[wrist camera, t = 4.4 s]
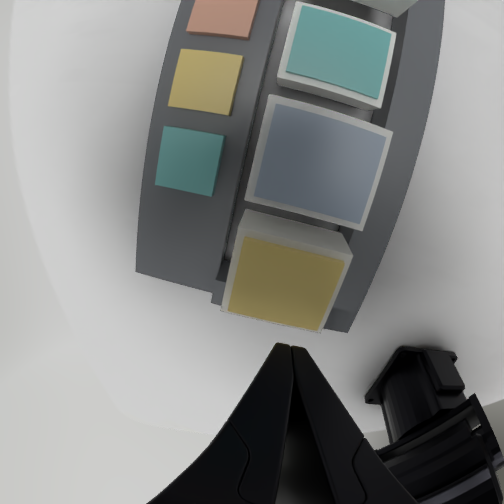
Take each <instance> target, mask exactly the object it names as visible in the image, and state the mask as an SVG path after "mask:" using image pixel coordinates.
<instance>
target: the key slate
mask: <svg viewBox="0 0 504 504" xmlns="http://www.w3.org/2000/svg"><path fill="white" fill-rule="evenodd" d="M392 135H393V132H392V131H390V130H387V129H385V128H382V127H379V126H377V125H374V124H371V123H369V122H366V121H363V120H360V119H357V118H354V117H351V116H348V115H345V114H342V113H339V112H336V111H333V110H329V109H326V108H323V107H319V106H316V105H312V104H309V103H305V102H301V101H297V100H293V99H289V98H285V97H281V96H277V95H272V94H269V96H268V100H267V104H266V108H265V112H264V117H263V121H262V125H261V129H260V133H259V138H258V142H257V146H256V150H255V155H254V159H253V163H252V168H251V172H250V176H249V181H248V185H247V190H246V194H245V198H244V200H245V201H249V202H253V203H257V204H262V205H266V206H270V207H274V208H278V209H282V210H286V211H290V212H293V213H297V214H301V215H305V216H309V217H312V218H316V219H320V220H324V221H327V222H331V223H335V224H338V225H342V226H345V227H349V228H352V229H356V230H359V231H363V228H364V225H365V222H366V220H367V217H368V214H369V211H370V208H371V205H372V202H373V199H374V196H375V193H376V190H377V186H378V183H379V180H380V177H381V173H382V170H383V167H384V163H385V160H386V156H387V153H388V149H389V146H390V142H391V138H392Z"/></svg>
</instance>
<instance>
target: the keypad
mask: <svg viewBox="0 0 504 504" xmlns="http://www.w3.org/2000/svg"><path fill="white" fill-rule="evenodd" d="M283 3H284V0H181V3H180V6H179V9H178V12H177V16H176V19H175V22H174V25H173V29H172V32H171V36H170V39H169V43H168V47H167V51H166V54H165V58H164V62H163V67H162V71H161V75H160V79H159V84H158V88H157V93H156V98H155V103H154V108H153V113H152V119H151V124H150V130H149V136H148V143H147V149H146V156H145V163H144V171H143V179H142V188H141V197H140V208H139V220H138V233H137V250H136V272H138V273H141V274H145V275H148V276H152V277H155V278H159V279H163V280H166V281H170V282H173V283H177V284H181V285H185V286H188V287H192V288H196V289H200V290H204V291H207V292H211V293H213V294H212V300H211V303H214V304H218V305H222V300H223V295H224V291H225V286H226V281H227V276H228V272H229V267H230V262H231V261H228V260H224V255H225V250H226V245H227V240H228V235H229V231H230V226H231V221H232V216H233V212H234V207H235V202H236V198H237V193H238V188H239V184H240V179H241V175H242V170H243V166H244V161H245V157H246V152H247V148H248V144H249V139H250V135H251V131H252V126H253V122H254V118H255V114H256V109H257V105H258V101H259V97H260V93H261V89H262V85H263V81H264V77H265V73H266V69H267V65H268V61H269V57H270V53H271V49H272V45H273V41H274V37H275V33H276V30H277V26H278V22H279V18H280V14H281V11H282V7H283ZM444 6H445V0H418V1H417V2H416V3H414V4H413V5H412V6H411V7H409V8H408V9H407V10H406V11H405V12H403V13H402V14H401V15H400V16H399V17H397V18H396V17H394V16H393V21H392V27H391V31H393V32H395V33H396V39H395V44H394V50H393V55H392V60H391V65H390V70H389V75H388V80H387V84H386V89H385V93H384V97H383V102H382V106H381V109H374V112H373V116H372V120H371V124H374V125H377V126H379V127H382V128H385V129H387V130H390V131H392V132H393V135H392V138H391V142H390V146H389V149H388V153H387V156H386V160H385V163H384V167H383V170H382V173H381V177H380V180H379V183H378V186H377V190H376V193H375V196H374V199H373V202H372V205H371V208H370V211H369V214H368V217H367V220H366V222H365V225H364V228H363V231H359V230H356V229H352V228H349V227H345V226H342V225H340V228H339V231H338V232H339V233H342V235H343V236H344V238H345V240H346V242H347V244H348V246H349V248H350V250H351V252H352V254H353V258H352V260H351V263H350V265H349V268H348V271H347V273H346V276H345V278H344V280H343V283H342V285H341V288H340V290H339V293H338V295H337V297H336V300H335V302H334V304H333V307H332V309H331V311H330V314H329V316H328V318H327V320H326V323H325V325H324V327H323V328H324V329H329V330H335V331H340V332H345V333H348V331H349V329H350V327H351V325H352V323H353V321H354V319H355V317H356V315H357V313H358V311H359V309H360V307H361V304H362V302H363V300H364V298H365V296H366V294H367V292H368V289H369V287H370V285H371V283H372V280H373V278H374V276H375V273H376V271H377V269H378V266H379V264H380V262H381V259H382V257H383V254H384V252H385V249H386V247H387V244H388V242H389V239H390V237H391V234H392V231H393V229H394V226H395V223H396V221H397V218H398V215H399V212H400V210H401V207H402V204H403V201H404V198H405V195H406V192H407V189H408V186H409V183H410V179H411V176H412V173H413V170H414V166H415V163H416V159H417V156H418V152H419V149H420V145H421V141H422V138H423V134H424V130H425V126H426V122H427V117H428V113H429V108H430V104H431V99H432V94H433V89H434V84H435V79H436V73H437V67H438V61H439V54H440V46H441V38H442V29H443V19H444Z"/></svg>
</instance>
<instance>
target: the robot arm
mask: <svg viewBox="0 0 504 504" xmlns="http://www.w3.org/2000/svg"><path fill="white" fill-rule="evenodd" d="M456 360H457V356H456V354H455V353H451V352H445V351H436V350H428V349H418V348H411V347H401V348H399V349H398V350H397V351H396V353H395V354H394V356H393V357H392V359H391V360H390V362H389V363H388V365H387V366H386V368H385V369H384V371H383V372H382V374H381V375H380V377H379V378H378V379H377V381H376V382H375V384H374V385H373V386H372V388H371V389H370V391H369V392H368V393H367V395H366V396H365V403H367V404H380V405H381V408H382V412H383V416H384V420H385V424H386V429H387V433H388V436H389V442H390V445H387V446H385V447H383V448H381V449H379V450H374V449H373V448H372V447H371V445H370V444H369V442H368V441H367V439H366V438H364V435H363V433H362V432H361V430H360V429H359V428H358V426H357V425H356V423H355V422H354V420H353V419H352V417H351V416H350V414H349V413H348V411H347V410H346V408H345V407H344V405H343V404H342V402H341V401H340V399H339V398H338V396H337V395H336V393H335V392H334V390H333V389H332V387H331V386H330V384H329V383H328V381H327V380H326V378H325V377H324V375H323V374H322V372H321V371H320V369H319V368H318V366H317V365H316V363H315V362H314V360H313V359H312V357H311V356H310V354H309V353H308V351H307V350H306V349H305V348H303V347H298V346H291V347H290V345H288V344H283V343H279V342H277V343H276V344H275V345H274V347H273V349H272V350H271V352H270V354H269V355H268V357H267V358H266V360H265V362H264V363H263V365H262V367H261V368H260V370H259V372H258V373H257V375H256V376H255V378H254V380H253V381H252V383H251V384H250V386H249V387H248V389H247V391H246V392H245V394H244V395H243V397H242V398H241V400H240V401H239V403H238V405H237V406H236V408H235V409H234V411H233V412H232V414H231V415H230V417H229V418H228V420H227V421H226V422H225V424H224V425H223V427H222V428H221V430H220V431H219V433H218V434H217V435H216V437H215V438H214V439H213V440H212V442H211V443H210V445H209V446H208V447H207V448H206V449H205V450H204V451H203V452H202V453H201V454H200V456H199V457H198V458H197V459H196V460H195V461H194V462H193V463H192V464H191V465H190V466H189V467H188V468H187V469H186V470H185V471H183V472H182V473H181V474H180V475H179V476H178V477H177V478H176V479H175V480H174V481H173V482H172V483H171V484H169V485H168V486H167V487H166V488H165V489H164V490H163V491H162V492H160V493H159V494H158V495H157V496H156V497H154V498H153V499H152V500H151V501H149V502H148V503H147V504H502V501H503V496H502V491H501V486H500V482H499V478H498V475H497V472H496V471H497V470H499V469H501V468H502V467H504V458H503V456H502V452H501V450H500V447H499V444H498V442H497V440H496V437H495V435H494V432H493V430H492V428H491V426H490V423H489V421H488V419H487V417H486V415H485V413H484V411H483V408H482V406H481V404H480V402H479V400H478V398H477V396H476V394H475V393H474V394H472V395H471V396H470V397H469V399H466V397H465V395H464V393H463V390H464V389H465V385H464V383H463V381H462V379H461V377H460V375H459V373H458V371H457V369H456V367H455V365H454V363H455V362H456ZM479 424H481V426H479V427H478V428H476V429H474V430H473V431H472V429H473V428H474V427H476V426H477V425H479Z"/></svg>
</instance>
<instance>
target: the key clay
mask: <svg viewBox="0 0 504 504" xmlns="http://www.w3.org/2000/svg"><path fill="white" fill-rule="evenodd" d="M351 1H354V2H357V3H360V4H363V5H366V6H369V7H371V8H374V9H377V10H379V11H382V12H384V13H387V14H389V15H392V16H394V17H396V18H397V17H399V16H400V15H401V14H402V13H403V12H405V11H406V10H407V9H408V8H409V7H411V6H412V5H413V4H414V3H416V2H417V1H418V0H351Z"/></svg>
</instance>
